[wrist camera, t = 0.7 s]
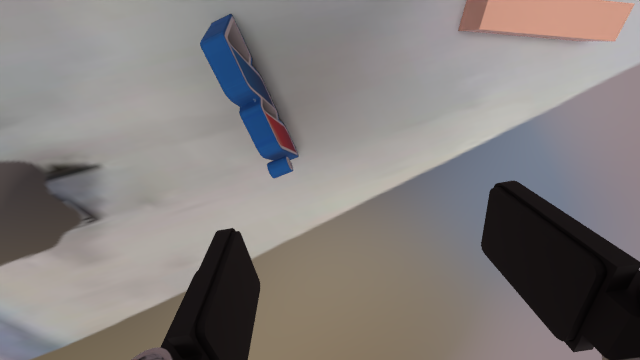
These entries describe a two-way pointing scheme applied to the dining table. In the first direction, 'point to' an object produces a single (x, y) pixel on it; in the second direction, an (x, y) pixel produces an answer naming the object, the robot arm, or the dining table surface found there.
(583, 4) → the clay strip
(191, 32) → the dining table surface
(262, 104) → the logo
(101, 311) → the dining table surface
